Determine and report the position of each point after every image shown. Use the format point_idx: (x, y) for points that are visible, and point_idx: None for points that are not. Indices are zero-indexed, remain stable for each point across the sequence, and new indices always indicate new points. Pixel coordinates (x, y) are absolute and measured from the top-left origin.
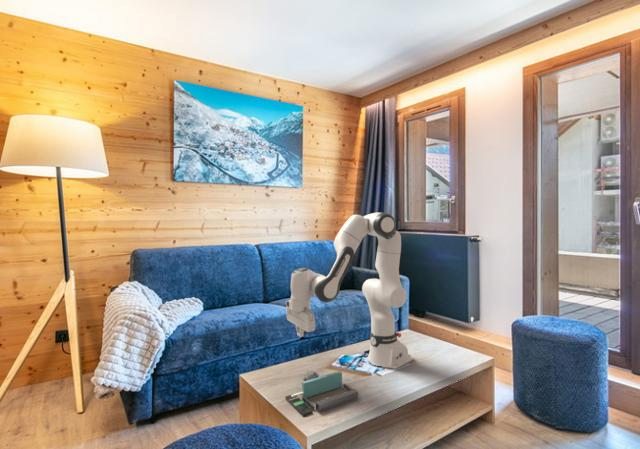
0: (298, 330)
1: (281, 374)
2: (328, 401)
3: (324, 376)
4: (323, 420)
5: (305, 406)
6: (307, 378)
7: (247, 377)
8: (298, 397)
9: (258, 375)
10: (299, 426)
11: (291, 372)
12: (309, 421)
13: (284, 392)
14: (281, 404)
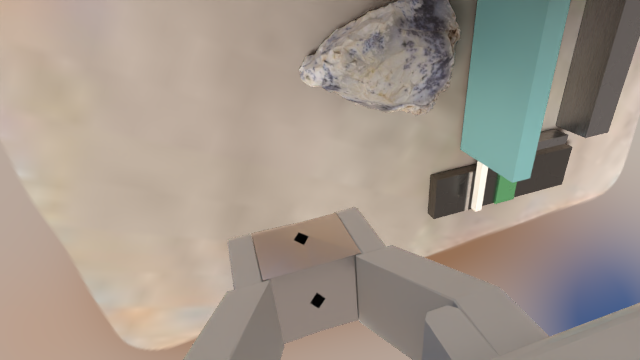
0: (272, 348)
1: (186, 188)
2: (622, 82)
3: (553, 32)
4: (613, 121)
5: (536, 164)
6: (427, 109)
7: (166, 339)
8: (472, 173)
9: (159, 297)
10: (577, 201)
11: (177, 124)
12: (583, 167)
13: (380, 207)
14: (449, 231)
